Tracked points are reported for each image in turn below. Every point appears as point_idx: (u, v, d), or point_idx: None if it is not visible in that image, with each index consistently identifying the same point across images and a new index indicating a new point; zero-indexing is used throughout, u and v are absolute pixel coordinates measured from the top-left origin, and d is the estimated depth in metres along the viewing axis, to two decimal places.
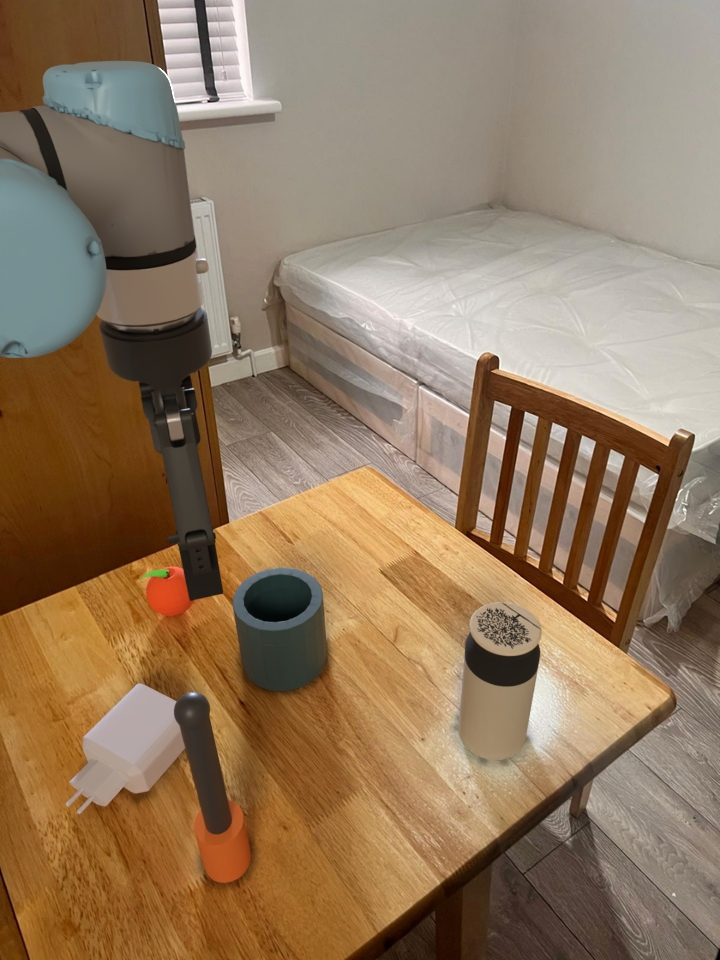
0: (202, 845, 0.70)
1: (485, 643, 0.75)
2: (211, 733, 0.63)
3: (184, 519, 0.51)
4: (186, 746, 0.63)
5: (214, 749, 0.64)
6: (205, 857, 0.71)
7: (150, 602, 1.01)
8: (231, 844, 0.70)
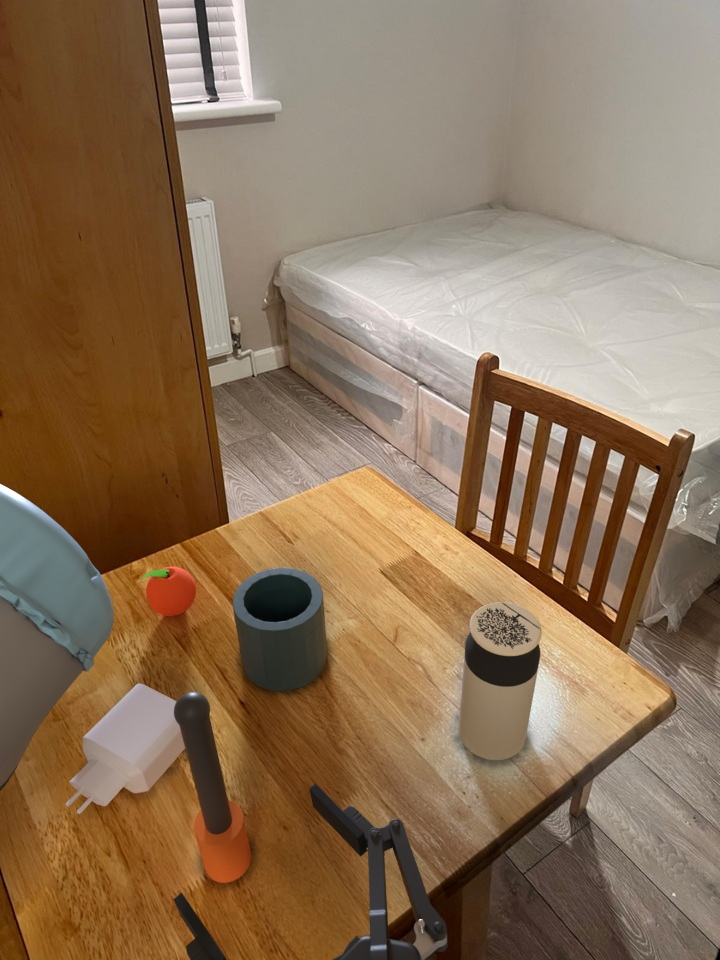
0: (202, 845, 0.70)
1: (485, 643, 0.75)
2: (211, 733, 0.63)
3: None
4: (186, 746, 0.63)
5: (214, 749, 0.64)
6: (205, 857, 0.71)
7: (150, 602, 1.01)
8: (231, 844, 0.70)
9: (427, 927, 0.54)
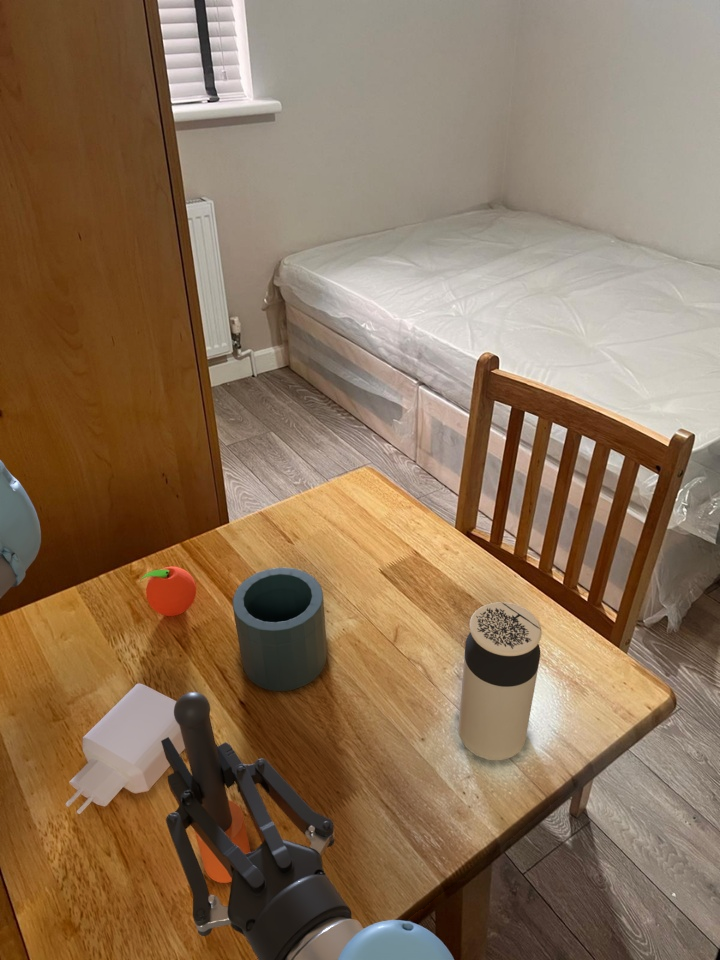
0: (202, 845, 0.70)
1: (485, 643, 0.75)
2: (211, 733, 0.63)
3: (173, 842, 0.62)
4: (186, 746, 0.63)
5: (214, 749, 0.64)
6: (205, 857, 0.71)
7: (150, 602, 1.01)
8: None
9: (317, 830, 0.62)
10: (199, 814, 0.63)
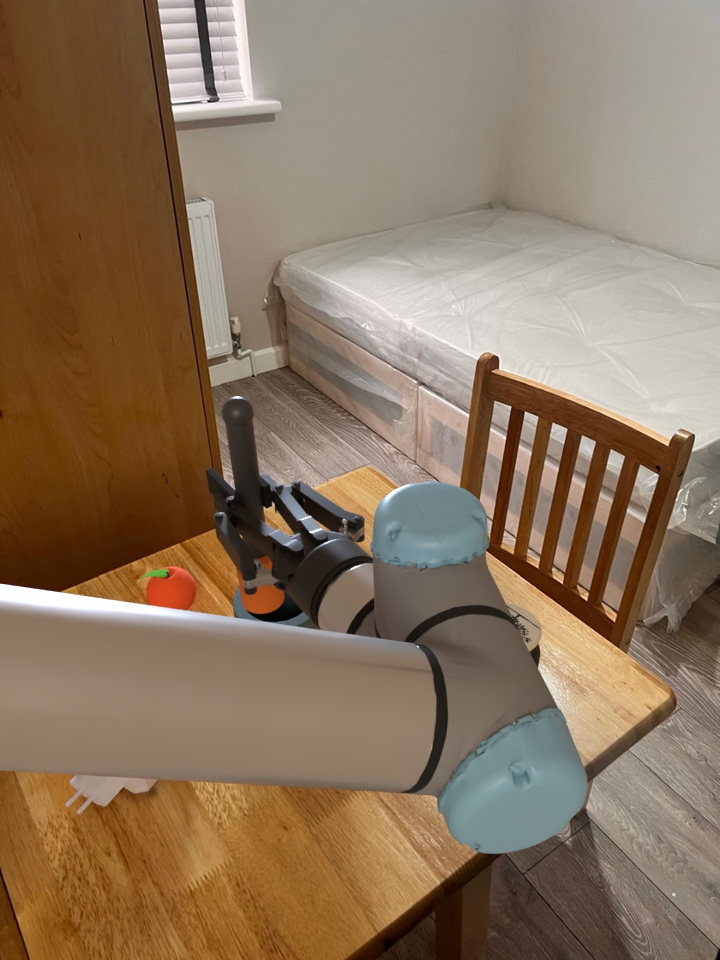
0: None
1: None
2: (254, 439, 0.70)
3: (220, 532, 0.69)
4: (231, 450, 0.70)
5: (256, 459, 0.71)
6: None
7: (150, 602, 1.01)
8: (269, 567, 0.77)
9: (350, 522, 0.69)
10: (243, 513, 0.70)
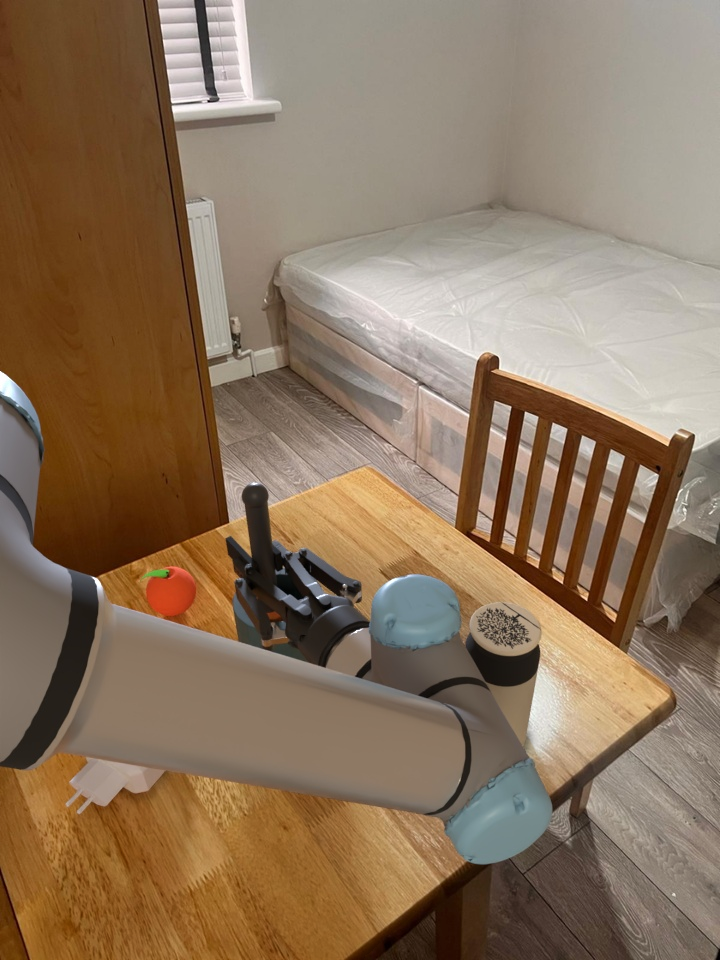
0: None
1: (485, 643, 0.75)
2: (268, 517, 0.83)
3: (241, 596, 0.82)
4: (250, 526, 0.83)
5: (270, 532, 0.84)
6: None
7: (150, 602, 1.01)
8: (279, 620, 0.90)
9: (349, 587, 0.82)
10: (259, 579, 0.83)
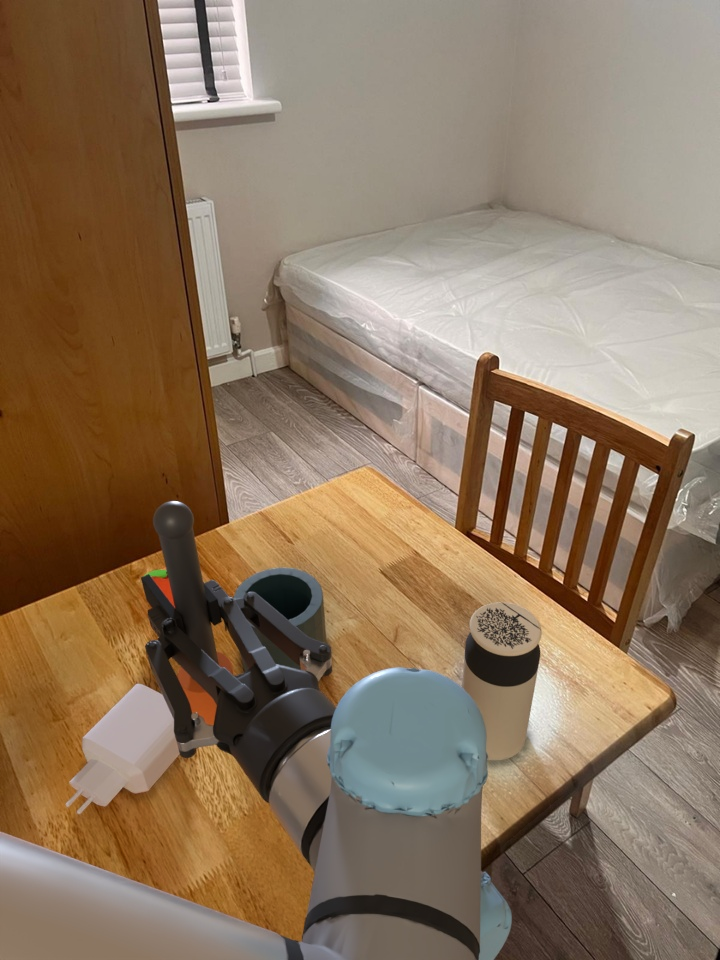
0: (187, 694, 0.64)
1: (485, 643, 0.75)
2: (195, 551, 0.57)
3: (153, 668, 0.56)
4: (167, 565, 0.57)
5: (199, 572, 0.58)
6: None
7: None
8: None
9: (313, 654, 0.56)
10: (182, 641, 0.57)
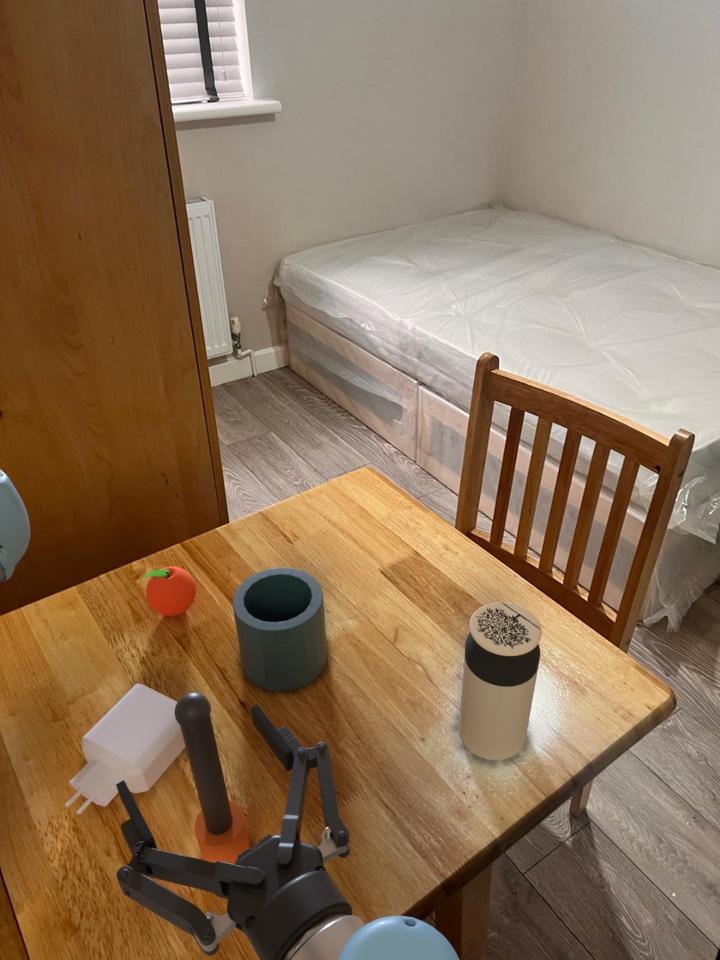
0: (203, 845, 0.70)
1: (485, 643, 0.75)
2: (212, 733, 0.63)
3: (136, 893, 0.58)
4: (187, 746, 0.63)
5: (215, 749, 0.64)
6: (206, 857, 0.71)
7: (150, 602, 1.01)
8: (232, 844, 0.70)
9: (332, 835, 0.61)
10: (161, 858, 0.59)
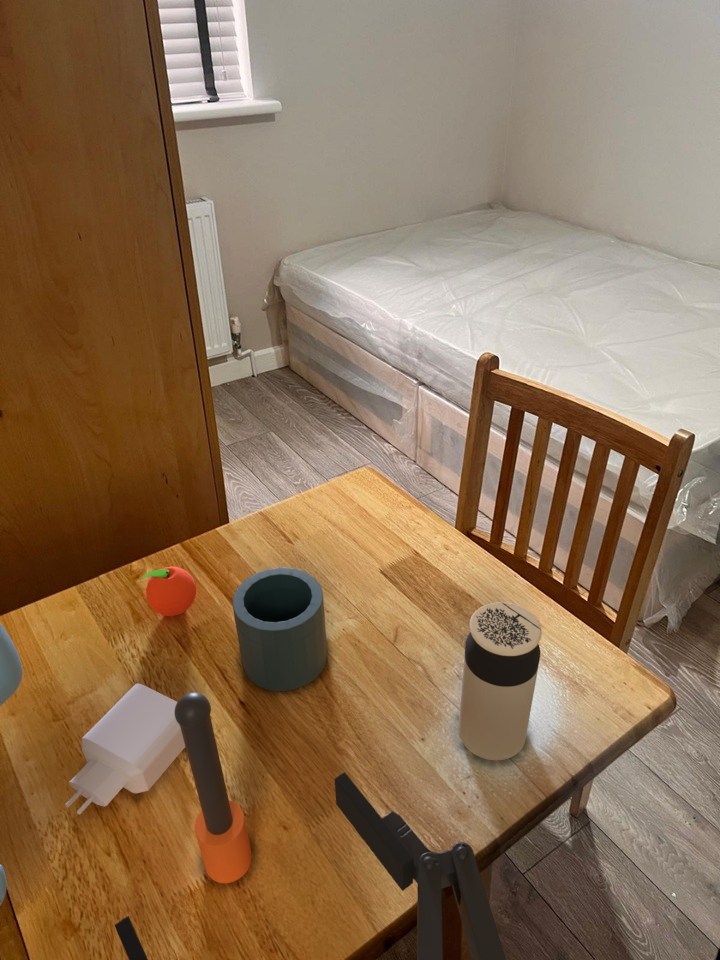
0: (203, 845, 0.70)
1: (485, 643, 0.75)
2: (212, 733, 0.63)
3: None
4: (187, 746, 0.63)
5: (215, 749, 0.64)
6: (206, 857, 0.71)
7: (150, 602, 1.01)
8: (232, 844, 0.70)
9: None
10: None
